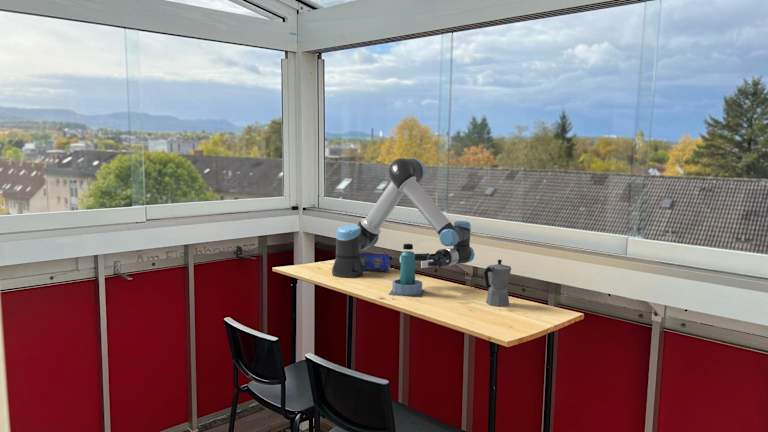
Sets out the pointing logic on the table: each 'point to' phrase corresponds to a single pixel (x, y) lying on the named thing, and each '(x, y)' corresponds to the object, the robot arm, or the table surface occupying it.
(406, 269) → the beverage bottle
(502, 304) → the coffeepot
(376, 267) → the pencil case
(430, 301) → the table surface
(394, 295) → the mat
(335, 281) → the table surface
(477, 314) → the table surface
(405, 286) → the bowl
